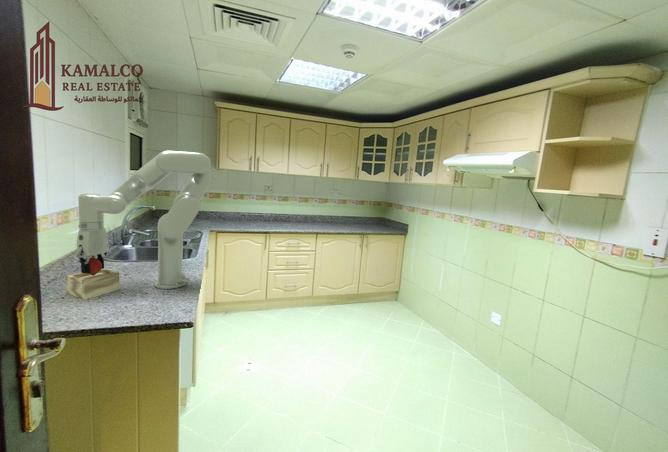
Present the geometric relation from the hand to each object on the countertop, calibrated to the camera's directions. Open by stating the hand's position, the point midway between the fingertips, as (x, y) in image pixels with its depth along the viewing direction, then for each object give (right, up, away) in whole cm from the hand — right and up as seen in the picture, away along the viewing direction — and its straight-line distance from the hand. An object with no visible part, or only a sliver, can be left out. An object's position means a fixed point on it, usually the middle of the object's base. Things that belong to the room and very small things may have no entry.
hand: (93, 270), depth 124 cm
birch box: (-1, -9, +1) cm, 9 cm away
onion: (0, -2, 0) cm, 2 cm away
